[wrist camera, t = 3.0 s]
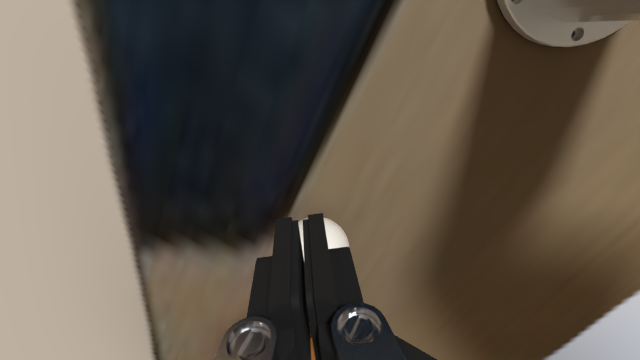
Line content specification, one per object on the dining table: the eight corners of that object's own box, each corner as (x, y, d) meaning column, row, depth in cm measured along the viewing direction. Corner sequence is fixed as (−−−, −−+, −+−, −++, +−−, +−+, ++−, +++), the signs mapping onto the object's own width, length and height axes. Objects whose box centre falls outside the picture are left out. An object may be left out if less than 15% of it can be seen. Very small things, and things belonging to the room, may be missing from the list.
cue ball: (279, 208, 28) (275, 248, 23) (342, 200, 28) (352, 238, 23) (288, 258, 30) (286, 304, 25) (346, 251, 30) (356, 295, 25)
